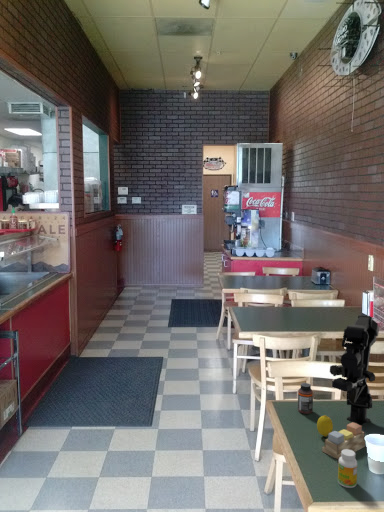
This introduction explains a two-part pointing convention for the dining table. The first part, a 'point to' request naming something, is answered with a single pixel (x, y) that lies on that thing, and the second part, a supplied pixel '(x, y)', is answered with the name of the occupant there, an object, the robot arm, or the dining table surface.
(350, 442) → the button board
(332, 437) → the button slate
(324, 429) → the lemon
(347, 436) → the button yellow
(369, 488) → the dining table surface
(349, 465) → the supplement bottle
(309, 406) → the supplement bottle
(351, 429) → the button terracotta
